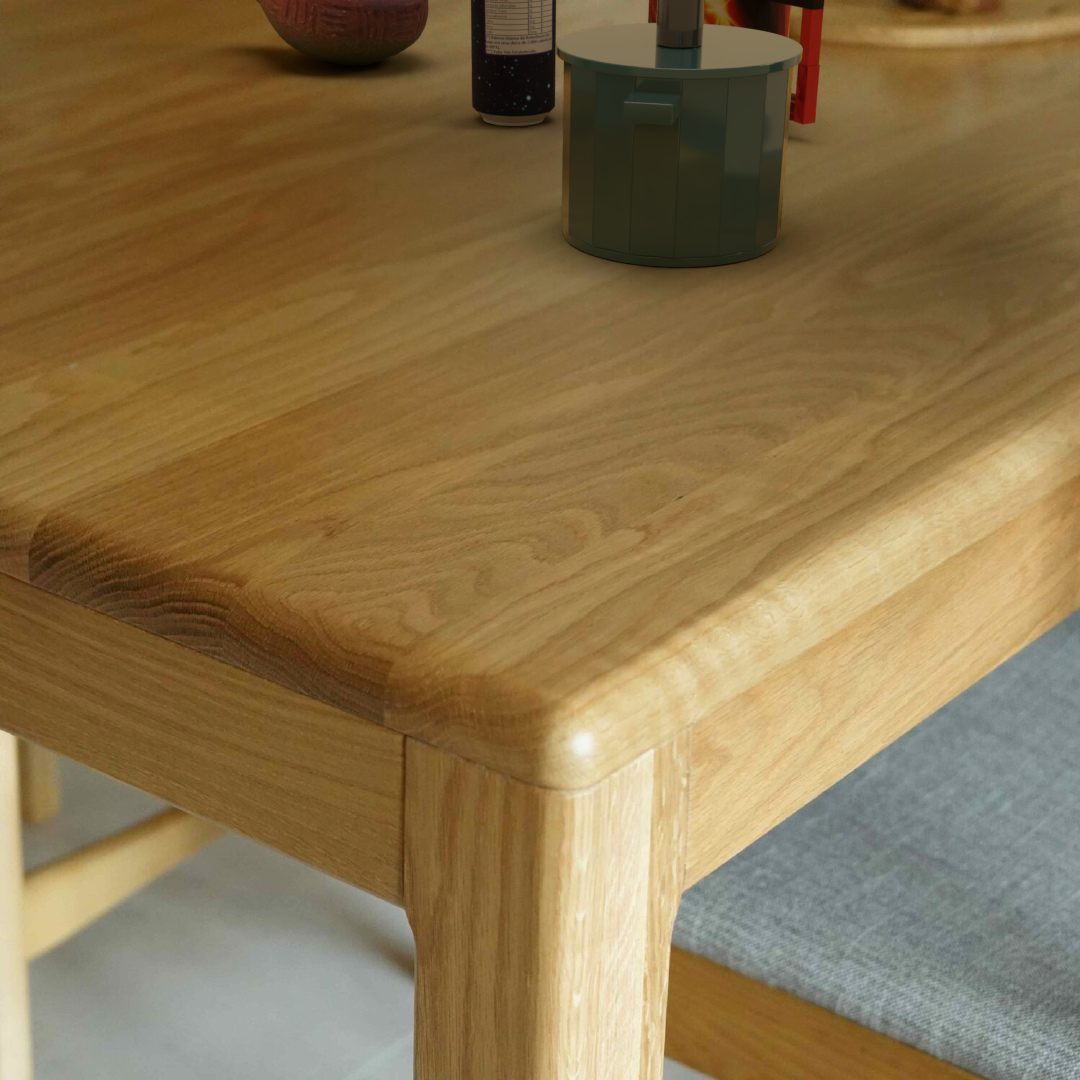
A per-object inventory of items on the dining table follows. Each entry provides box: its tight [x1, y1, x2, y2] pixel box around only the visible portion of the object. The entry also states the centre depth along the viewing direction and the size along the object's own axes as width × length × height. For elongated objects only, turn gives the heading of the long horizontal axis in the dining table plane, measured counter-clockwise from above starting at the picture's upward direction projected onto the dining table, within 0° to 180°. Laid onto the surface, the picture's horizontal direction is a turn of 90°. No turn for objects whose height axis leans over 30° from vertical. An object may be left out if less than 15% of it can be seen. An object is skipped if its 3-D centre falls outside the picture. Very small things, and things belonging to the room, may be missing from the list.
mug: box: [647, 0, 825, 125], centre depth 111 cm, size 10×14×12 cm
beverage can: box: [470, 0, 557, 127], centre depth 110 cm, size 6×6×12 cm
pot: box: [561, 61, 794, 268], centre depth 87 cm, size 12×17×10 cm
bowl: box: [255, 0, 429, 67], centre depth 128 cm, size 16×13×8 cm
